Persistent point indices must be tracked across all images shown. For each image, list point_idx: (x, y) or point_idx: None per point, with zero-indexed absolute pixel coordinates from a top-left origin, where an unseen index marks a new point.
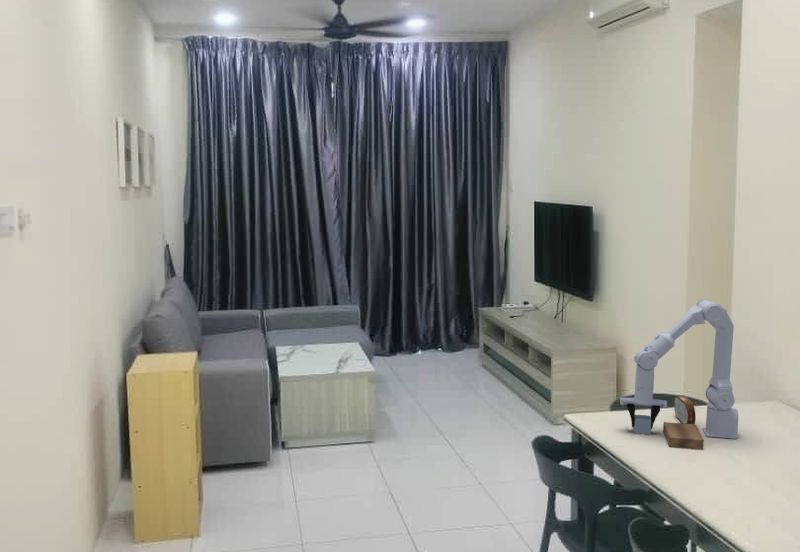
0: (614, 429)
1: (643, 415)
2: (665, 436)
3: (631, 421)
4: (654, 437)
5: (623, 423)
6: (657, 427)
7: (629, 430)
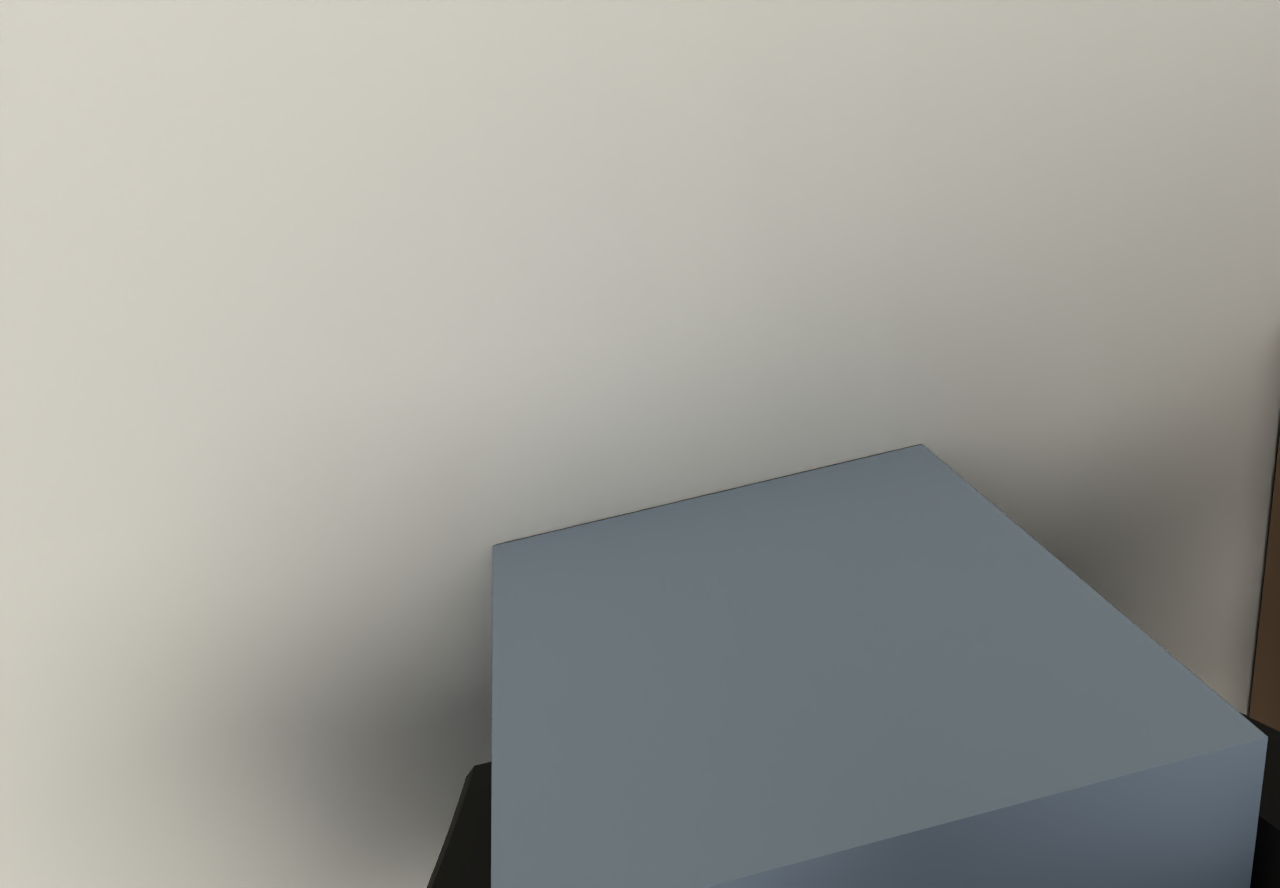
0: (11, 806)
1: (968, 867)
2: None
3: (442, 878)
4: None
5: (9, 49)
6: (1194, 12)
7: (419, 693)
